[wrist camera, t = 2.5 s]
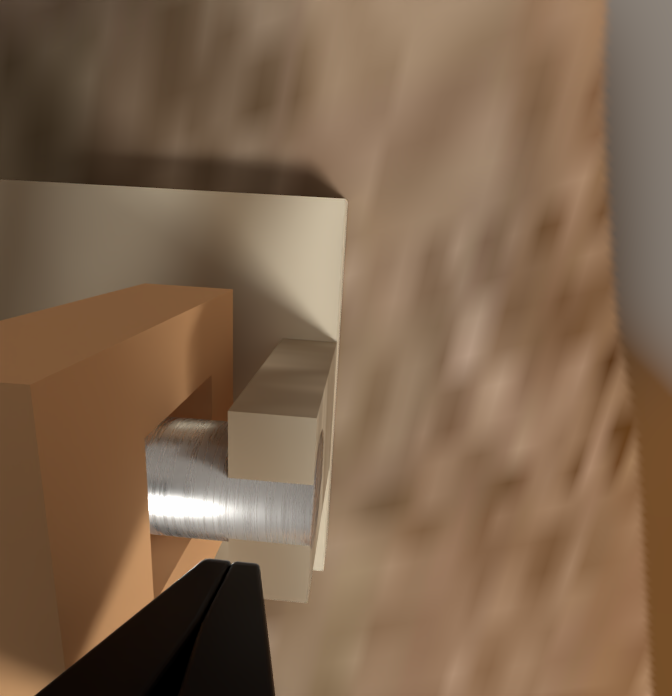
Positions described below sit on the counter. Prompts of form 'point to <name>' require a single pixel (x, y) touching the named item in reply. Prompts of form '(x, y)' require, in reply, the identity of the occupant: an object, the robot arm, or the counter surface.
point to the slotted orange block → (95, 463)
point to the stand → (248, 313)
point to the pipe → (221, 490)
